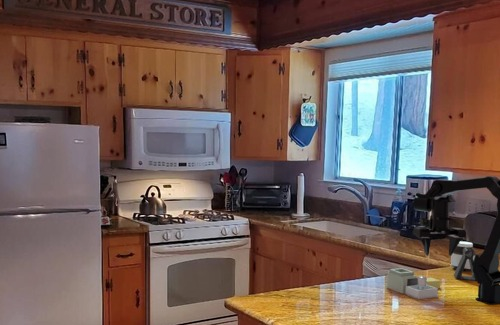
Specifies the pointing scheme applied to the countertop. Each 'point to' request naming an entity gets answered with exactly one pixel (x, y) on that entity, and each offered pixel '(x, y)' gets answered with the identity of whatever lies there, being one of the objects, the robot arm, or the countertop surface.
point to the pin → (422, 283)
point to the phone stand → (462, 264)
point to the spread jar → (459, 252)
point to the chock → (433, 282)
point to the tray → (421, 292)
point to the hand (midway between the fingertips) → (438, 255)
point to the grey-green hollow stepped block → (400, 279)
